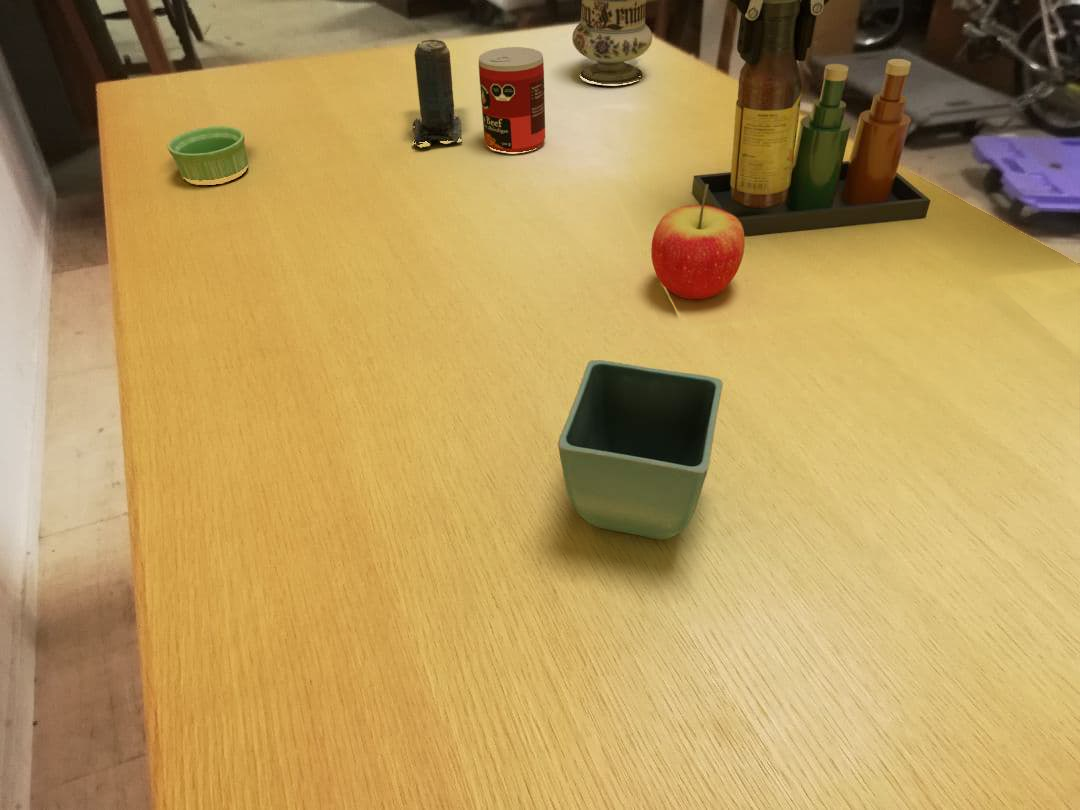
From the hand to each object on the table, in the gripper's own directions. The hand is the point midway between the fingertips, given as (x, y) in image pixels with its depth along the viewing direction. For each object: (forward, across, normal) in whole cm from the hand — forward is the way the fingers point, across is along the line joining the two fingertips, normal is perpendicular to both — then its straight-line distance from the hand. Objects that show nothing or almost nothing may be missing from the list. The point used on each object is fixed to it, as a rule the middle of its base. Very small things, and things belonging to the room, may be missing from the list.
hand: (772, 56), depth 75 cm
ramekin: (+16, -61, +24) cm, 67 cm away
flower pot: (+16, -23, -40) cm, 49 cm away
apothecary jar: (+16, -5, +48) cm, 51 cm away
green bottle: (+16, +7, 0) cm, 17 cm away
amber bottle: (+16, +13, 0) cm, 21 cm away
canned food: (+16, -23, +25) cm, 38 cm away
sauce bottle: (+15, +1, 0) cm, 15 cm away
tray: (+16, +6, 0) cm, 18 cm away
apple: (+17, -11, -14) cm, 24 cm away
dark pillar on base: (+16, -33, +30) cm, 47 cm away
